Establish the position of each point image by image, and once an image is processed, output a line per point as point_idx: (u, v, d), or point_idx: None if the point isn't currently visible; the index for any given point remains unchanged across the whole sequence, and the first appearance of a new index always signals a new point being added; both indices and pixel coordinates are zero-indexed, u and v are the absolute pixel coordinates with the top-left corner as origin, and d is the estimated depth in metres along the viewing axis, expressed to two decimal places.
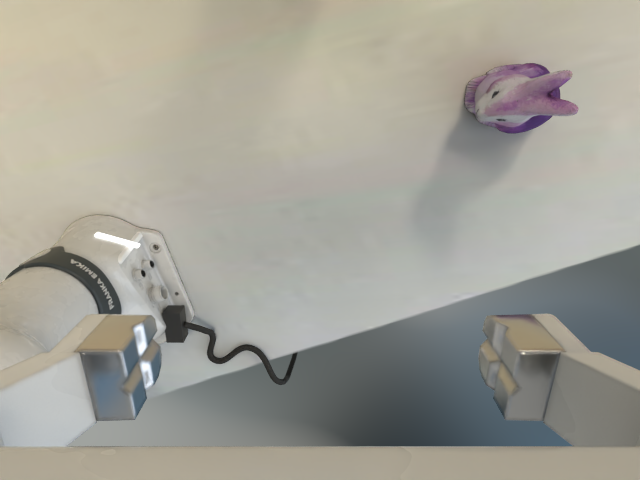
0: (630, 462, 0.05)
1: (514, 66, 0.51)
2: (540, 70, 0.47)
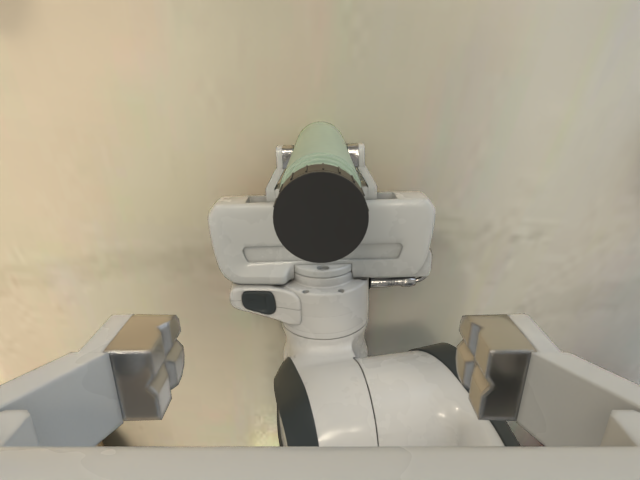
0: (630, 462, 0.05)
1: None
2: None
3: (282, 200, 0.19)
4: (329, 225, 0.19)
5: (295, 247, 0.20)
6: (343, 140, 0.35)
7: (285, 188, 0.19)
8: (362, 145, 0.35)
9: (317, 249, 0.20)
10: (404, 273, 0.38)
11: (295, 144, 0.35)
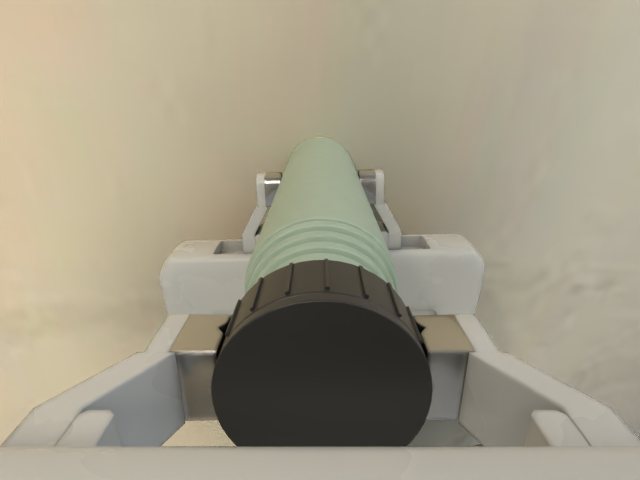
0: (630, 462, 0.05)
1: None
2: None
3: (231, 360, 0.08)
4: (341, 409, 0.08)
5: None
6: (353, 166, 0.25)
7: (237, 335, 0.08)
8: (381, 173, 0.24)
9: None
10: None
11: (284, 172, 0.24)
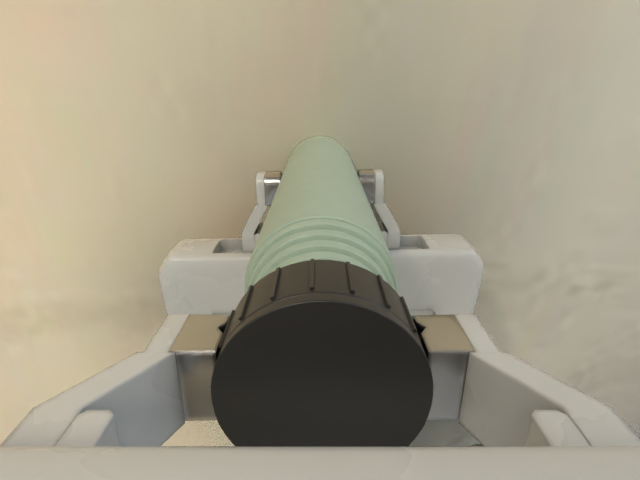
0: (630, 462, 0.05)
1: None
2: None
3: None
4: (338, 383, 0.08)
5: (386, 445, 0.09)
6: (353, 165, 0.25)
7: None
8: (380, 173, 0.24)
9: (396, 407, 0.08)
10: None
11: None
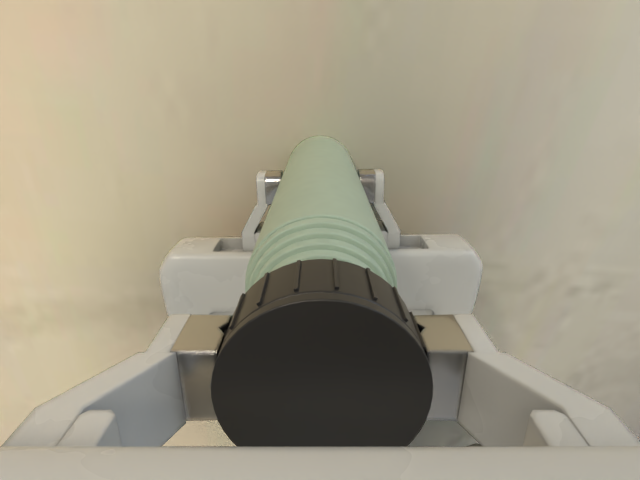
0: (630, 462, 0.05)
1: None
2: None
3: (401, 436, 0.09)
4: (303, 384, 0.08)
5: (391, 341, 0.08)
6: (353, 165, 0.25)
7: None
8: (381, 173, 0.24)
9: (337, 334, 0.08)
10: None
11: None
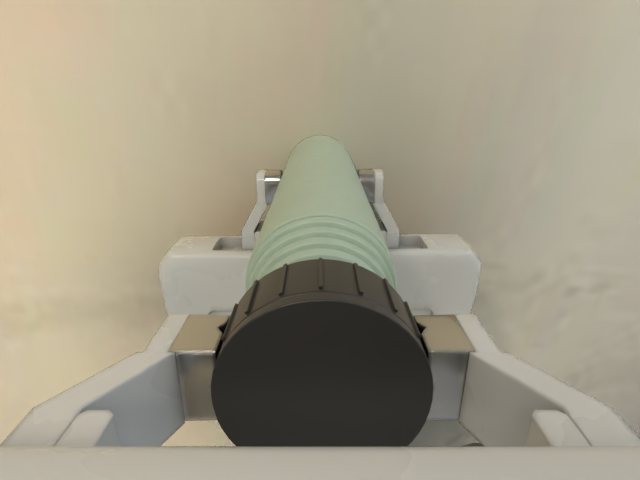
0: (630, 462, 0.05)
1: None
2: None
3: (381, 327, 0.08)
4: (305, 412, 0.08)
5: (255, 339, 0.08)
6: (353, 165, 0.25)
7: (409, 337, 0.08)
8: (380, 173, 0.25)
9: (247, 384, 0.08)
10: None
11: None
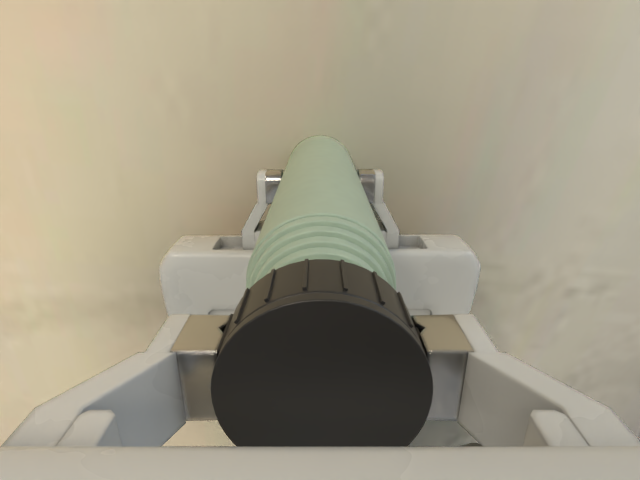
0: (630, 462, 0.05)
1: None
2: None
3: (238, 349, 0.08)
4: (339, 412, 0.08)
5: (254, 443, 0.09)
6: (353, 165, 0.25)
7: (249, 325, 0.08)
8: (380, 173, 0.25)
9: None
10: None
11: None
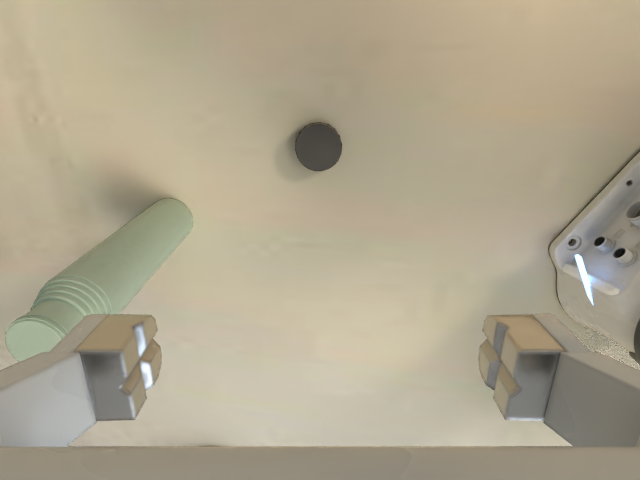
0: (630, 462, 0.05)
1: None
2: None
3: (306, 164, 0.41)
4: (322, 144, 0.40)
5: (330, 163, 0.41)
6: None
7: (300, 161, 0.41)
8: None
9: (333, 152, 0.40)
10: None
11: (157, 218, 0.38)
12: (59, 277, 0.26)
